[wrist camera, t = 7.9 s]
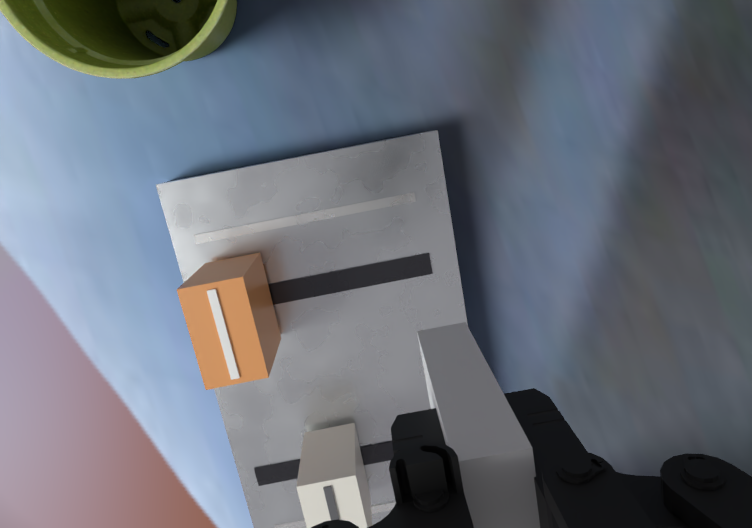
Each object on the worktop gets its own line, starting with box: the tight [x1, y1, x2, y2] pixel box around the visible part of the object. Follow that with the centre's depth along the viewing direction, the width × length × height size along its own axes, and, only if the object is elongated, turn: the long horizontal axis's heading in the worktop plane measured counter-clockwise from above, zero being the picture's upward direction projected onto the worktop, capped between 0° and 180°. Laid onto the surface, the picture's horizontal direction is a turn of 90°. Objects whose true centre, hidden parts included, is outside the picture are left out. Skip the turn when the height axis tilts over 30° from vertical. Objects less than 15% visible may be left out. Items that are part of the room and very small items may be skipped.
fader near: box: [177, 253, 281, 390], centre depth 27 cm, size 3×5×5 cm, turn 10°
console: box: [156, 130, 468, 528], centre depth 32 cm, size 15×24×2 cm, turn 11°
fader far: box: [296, 423, 372, 528], centre depth 30 cm, size 3×5×5 cm, turn 11°
